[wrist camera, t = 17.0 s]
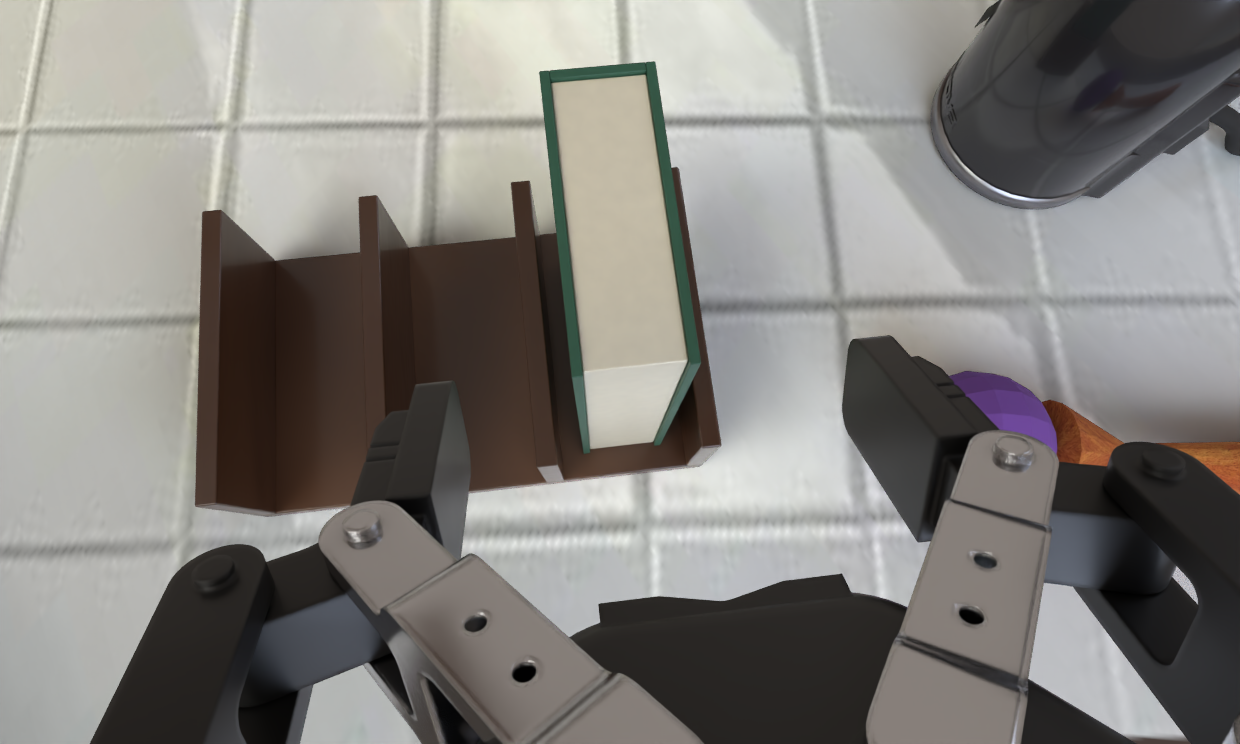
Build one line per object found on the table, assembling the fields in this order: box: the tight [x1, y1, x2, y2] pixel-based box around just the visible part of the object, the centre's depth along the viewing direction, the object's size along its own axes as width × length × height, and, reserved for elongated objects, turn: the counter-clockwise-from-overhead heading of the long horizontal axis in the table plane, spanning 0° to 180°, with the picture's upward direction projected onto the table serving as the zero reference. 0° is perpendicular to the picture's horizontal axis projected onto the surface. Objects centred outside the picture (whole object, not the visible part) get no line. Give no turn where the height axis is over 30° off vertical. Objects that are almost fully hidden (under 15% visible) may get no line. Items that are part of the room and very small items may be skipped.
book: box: [539, 62, 701, 454], centre depth 28 cm, size 4×10×14 cm, turn 7°
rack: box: [195, 167, 721, 517], centre depth 32 cm, size 20×12×6 cm, turn 97°
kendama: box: [949, 371, 1240, 494], centre depth 32 cm, size 6×6×20 cm
